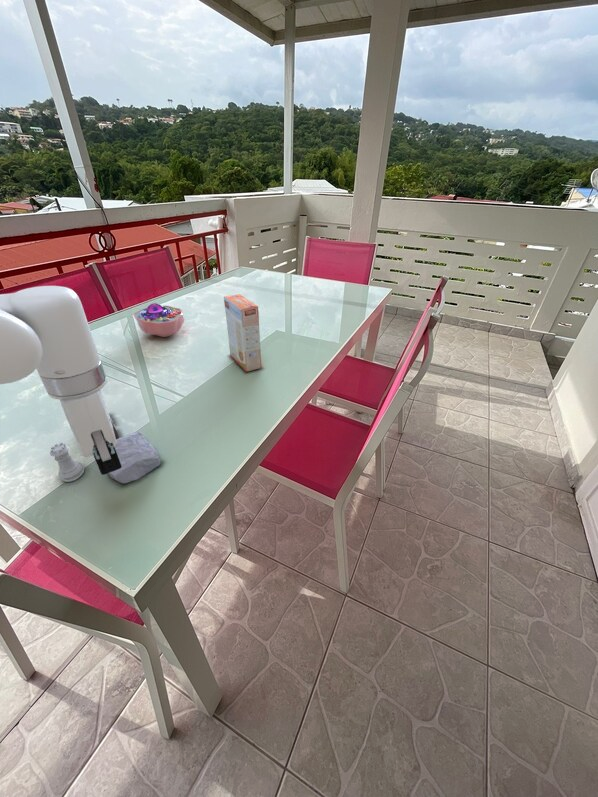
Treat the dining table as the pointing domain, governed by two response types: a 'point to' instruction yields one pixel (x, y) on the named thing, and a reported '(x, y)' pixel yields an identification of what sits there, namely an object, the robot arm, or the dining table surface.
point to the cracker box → (243, 331)
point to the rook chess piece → (66, 463)
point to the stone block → (134, 458)
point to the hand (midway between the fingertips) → (111, 468)
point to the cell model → (160, 320)
